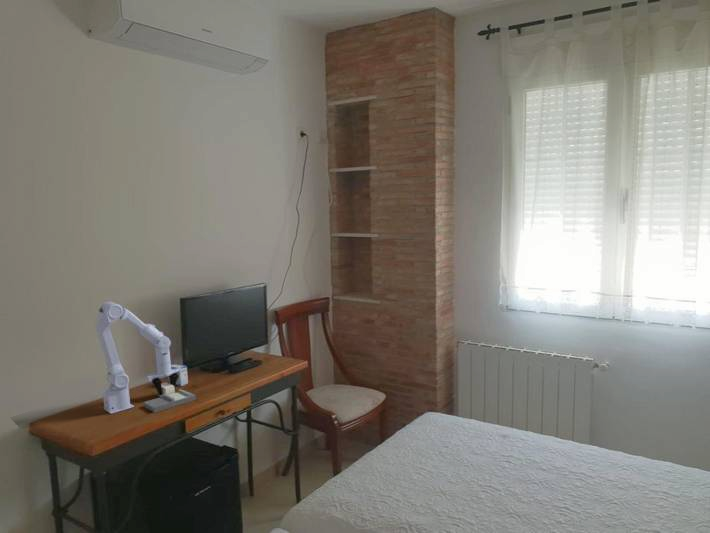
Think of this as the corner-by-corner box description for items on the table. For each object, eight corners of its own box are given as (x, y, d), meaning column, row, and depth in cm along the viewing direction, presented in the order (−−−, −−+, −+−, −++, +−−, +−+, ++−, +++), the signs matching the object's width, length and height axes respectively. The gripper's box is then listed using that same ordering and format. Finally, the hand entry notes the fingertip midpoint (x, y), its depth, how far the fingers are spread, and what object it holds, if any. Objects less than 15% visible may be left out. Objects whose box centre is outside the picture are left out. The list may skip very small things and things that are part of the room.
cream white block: (166, 399, 230) (165, 388, 230) (158, 395, 236) (157, 384, 236) (175, 397, 233) (174, 385, 232) (167, 393, 239) (166, 382, 238)
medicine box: (168, 384, 250) (167, 366, 249) (176, 381, 254) (174, 363, 253) (181, 386, 247) (179, 368, 246) (188, 383, 250) (186, 365, 250)
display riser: (154, 412, 216) (153, 404, 215) (144, 406, 223) (143, 399, 222) (195, 399, 228) (195, 392, 227) (185, 394, 235) (184, 387, 235)
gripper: (151, 368, 225) (154, 399, 227) (183, 360, 235) (186, 390, 236) (144, 365, 230) (147, 395, 232) (176, 357, 240) (179, 386, 242)
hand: (166, 392), depth 234 cm, fingers open, 5 cm apart
